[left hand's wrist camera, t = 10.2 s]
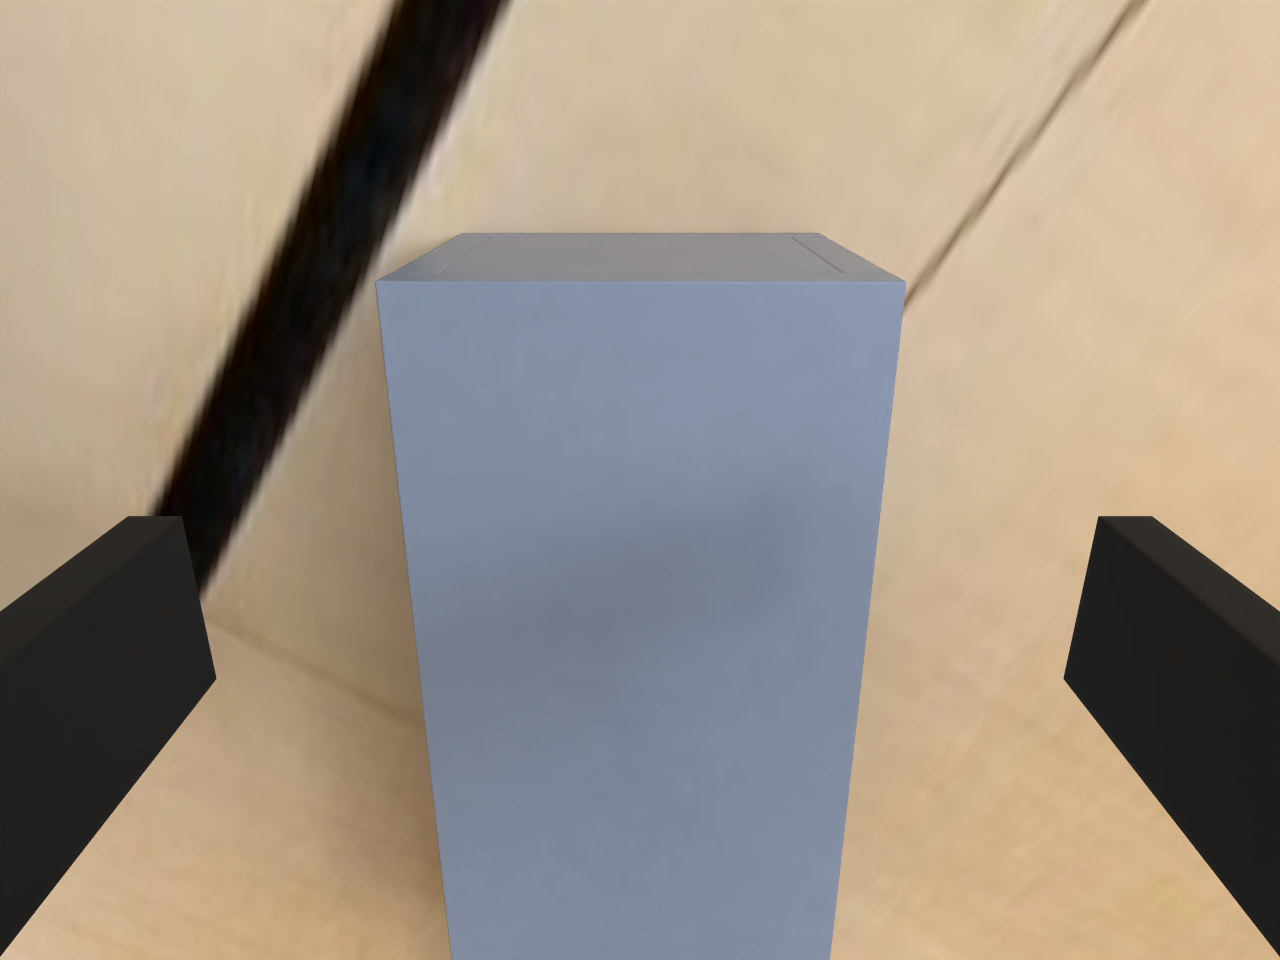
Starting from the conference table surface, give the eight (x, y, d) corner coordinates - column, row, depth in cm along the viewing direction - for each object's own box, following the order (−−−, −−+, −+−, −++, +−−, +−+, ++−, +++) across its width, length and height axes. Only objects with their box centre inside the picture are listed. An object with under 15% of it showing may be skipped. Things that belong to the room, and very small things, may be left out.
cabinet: (775, 841, 32) (818, 1068, 24) (506, 841, 32) (463, 1068, 24) (820, 232, 24) (907, 280, 16) (460, 232, 24) (374, 281, 16)
